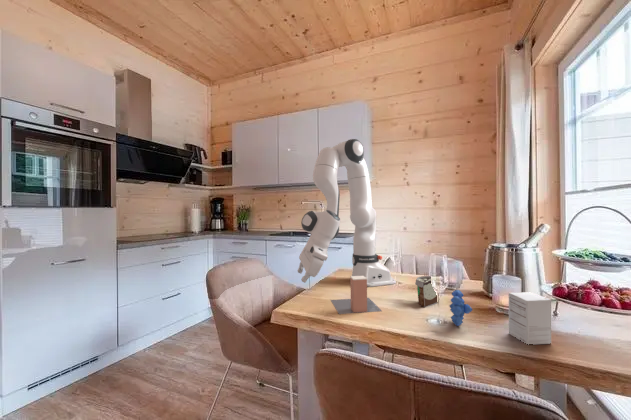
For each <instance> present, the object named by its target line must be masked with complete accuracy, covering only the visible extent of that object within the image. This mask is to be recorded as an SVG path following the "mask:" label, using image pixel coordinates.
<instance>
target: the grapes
mask: <svg viewBox="0 0 631 420" xmlns="http://www.w3.org/2000/svg"><path fill="white" fill-rule="evenodd" d="M451 296H452V297H451V299H450V301H451V304H449V308H450V311H451V313H452V314H453V315H451V316H450V319H451V321H452V323H453V324H454V325H455V326H457V327H458V326H459V327H460V326H461V325H462V324H464V321H463V320H464V319H465V317H464V316H465V314H466V315H467V314H470V313H471V312H472V311H473V308H472V307H471V306H470V305H469V304H468V303H465V300H464V299H463V297H464V296H465V295H464V294H463V292H462V291H461V290H460V289H455V290H453V291H452V292H451Z"/></svg>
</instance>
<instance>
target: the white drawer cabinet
mask: <svg viewBox="0 0 631 420" xmlns="http://www.w3.org/2000/svg"><path fill="white" fill-rule="evenodd" d="M508 334H509V335H511V336H513V337H514V338H515V337H516V339H517V340H519V341H520V340H521V341H520V342H521V343H523V342H524V344H525V343H526V344H525V345H527V344H528V345H527V346H529V344H533V345H550V343H551V344H552V300H551V299H550V298H548V297H545V296H543V295H539V294H537V293H535V292H530V291H526V292H525V291H523V292H508Z"/></svg>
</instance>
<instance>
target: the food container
mask: <svg viewBox="0 0 631 420" xmlns="http://www.w3.org/2000/svg"><path fill="white" fill-rule="evenodd" d="M431 276H432V275H422V276H417V277H416V280H415V282H414V283H415V286H416V288H417V289H416V290H417V299H418V301H417V302H418V305H419V306H421V308H424V309H425V308H428V307H430V306H433V305H436V304H438V303H437V295H436V292H435V291H434V289H433V287H432V284H431Z"/></svg>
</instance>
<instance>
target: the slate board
mask: <svg viewBox="0 0 631 420" xmlns="http://www.w3.org/2000/svg"><path fill="white" fill-rule="evenodd" d="M330 302H331V303H332V305H333V306H334V308H335V310H336V311H337V314H339V315H347V314H349V315H350V314H361V313H365V312H353V311H352V310H351V298H340V299H330ZM376 312H377V313H378V312H383V310H382V309H381V308H380V307H379V306H378V305H377V304H376V303H374V301H373V300H372V299H371V298H370V297H367V312H366V313H376Z"/></svg>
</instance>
